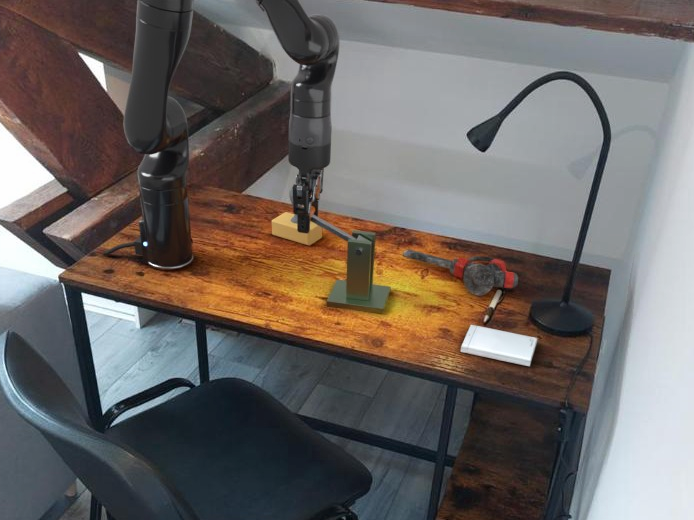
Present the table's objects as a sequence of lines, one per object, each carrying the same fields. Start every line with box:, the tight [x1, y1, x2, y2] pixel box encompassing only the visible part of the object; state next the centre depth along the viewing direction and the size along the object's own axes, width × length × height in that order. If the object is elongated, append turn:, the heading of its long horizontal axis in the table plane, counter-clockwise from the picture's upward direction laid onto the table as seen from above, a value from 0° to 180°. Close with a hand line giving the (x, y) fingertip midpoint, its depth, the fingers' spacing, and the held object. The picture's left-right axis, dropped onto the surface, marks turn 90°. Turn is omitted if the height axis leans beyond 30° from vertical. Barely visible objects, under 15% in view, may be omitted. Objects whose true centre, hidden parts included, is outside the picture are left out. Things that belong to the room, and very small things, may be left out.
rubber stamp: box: [271, 187, 323, 247], centre depth 177 cm, size 10×6×12 cm, turn 61°
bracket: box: [326, 229, 392, 315], centre depth 154 cm, size 11×9×13 cm
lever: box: [310, 206, 371, 243], centre depth 151 cm, size 14×6×2 cm, turn 79°
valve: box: [402, 248, 519, 296], centre depth 169 cm, size 6×26×15 cm
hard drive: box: [460, 324, 538, 367], centre depth 145 cm, size 2×8×12 cm
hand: (307, 225), depth 152 cm, fingers closed on lever, 5 cm apart
